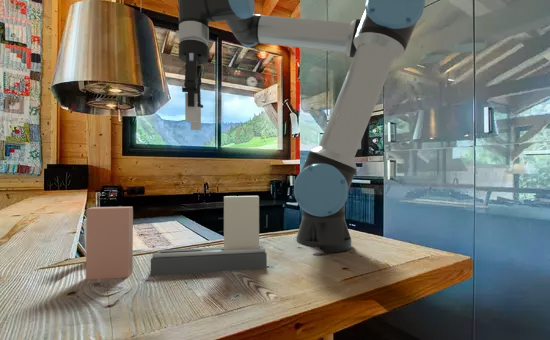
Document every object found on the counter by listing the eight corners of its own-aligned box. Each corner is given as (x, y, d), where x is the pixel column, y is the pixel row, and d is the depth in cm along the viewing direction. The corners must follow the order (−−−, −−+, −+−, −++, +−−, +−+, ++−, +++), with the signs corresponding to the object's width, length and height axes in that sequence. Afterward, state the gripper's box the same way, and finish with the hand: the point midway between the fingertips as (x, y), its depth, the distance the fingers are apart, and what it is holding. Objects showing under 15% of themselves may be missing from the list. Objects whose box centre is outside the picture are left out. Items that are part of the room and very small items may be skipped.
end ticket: (132, 280, 55) (132, 206, 55) (128, 285, 53) (128, 207, 53) (91, 283, 54) (92, 207, 54) (85, 288, 51) (86, 208, 52)
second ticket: (257, 262, 61) (257, 195, 62) (259, 265, 59) (258, 196, 59) (223, 264, 60) (223, 196, 60) (223, 267, 58) (224, 197, 58)
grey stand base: (262, 266, 63) (262, 241, 64) (266, 276, 57) (266, 249, 57) (158, 272, 60) (158, 246, 60) (150, 283, 53) (150, 254, 53)
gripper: (184, 62, 87) (184, 132, 87) (170, 17, 63) (170, 115, 62) (209, 63, 89) (210, 133, 88) (206, 21, 64) (206, 116, 64)
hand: (193, 126), depth 75 cm, fingers open, 13 cm apart
